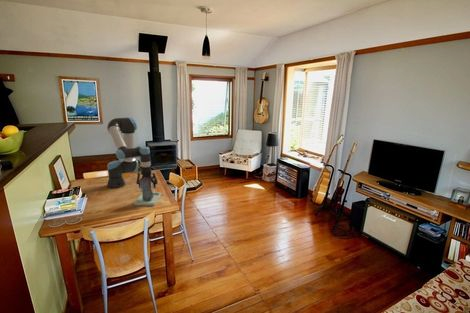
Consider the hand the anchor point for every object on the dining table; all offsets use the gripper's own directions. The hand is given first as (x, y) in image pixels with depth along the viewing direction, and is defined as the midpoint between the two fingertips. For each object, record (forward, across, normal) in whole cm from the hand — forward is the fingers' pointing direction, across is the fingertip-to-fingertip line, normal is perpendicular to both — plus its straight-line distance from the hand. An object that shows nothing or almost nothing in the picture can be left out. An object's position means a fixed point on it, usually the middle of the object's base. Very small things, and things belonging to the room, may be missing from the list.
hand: (147, 191), depth 199 cm
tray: (+7, 0, 0) cm, 7 cm away
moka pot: (+6, 0, 0) cm, 6 cm away
